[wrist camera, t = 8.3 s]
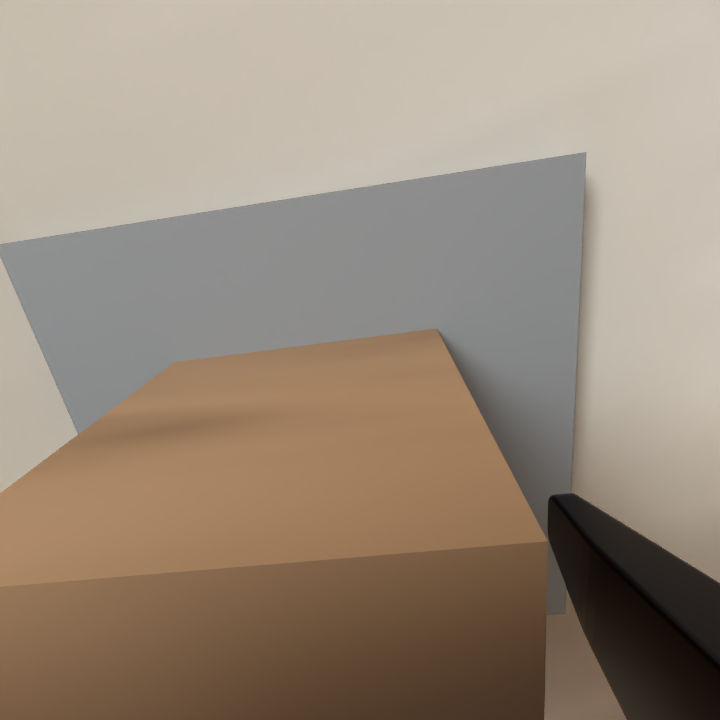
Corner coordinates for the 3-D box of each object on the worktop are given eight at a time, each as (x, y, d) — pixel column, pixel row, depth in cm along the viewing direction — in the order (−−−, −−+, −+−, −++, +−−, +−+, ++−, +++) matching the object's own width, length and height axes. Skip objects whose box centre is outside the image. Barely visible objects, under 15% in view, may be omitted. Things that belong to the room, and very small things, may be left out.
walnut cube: (453, 542, 11) (540, 902, 5) (238, 560, 11) (102, 909, 6) (436, 328, 9) (548, 541, 3) (174, 362, 9) (-138, 597, 4)
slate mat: (553, 589, 12) (565, 613, 12) (180, 615, 13) (168, 640, 13) (566, 157, 8) (586, 152, 7) (26, 242, 9) (-5, 245, 8)
